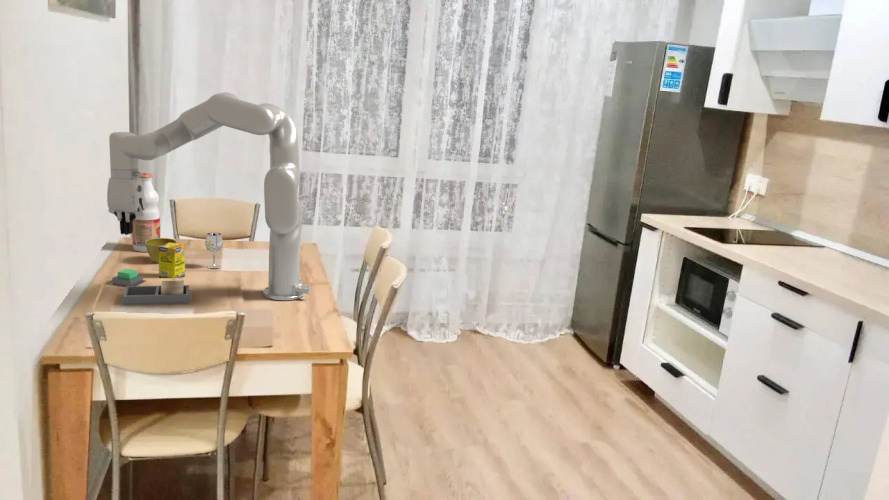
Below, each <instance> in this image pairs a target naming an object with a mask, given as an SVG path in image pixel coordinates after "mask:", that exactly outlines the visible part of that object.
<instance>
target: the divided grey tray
mask: <svg viewBox="0 0 889 500" xmlns="http://www.w3.org/2000/svg"><path fill="white" fill-rule="evenodd" d="M192 296H193V292H192V291H190V285H189V284H184V294H174V295H161V285H137V286H126V287H124V291H123V294H122V299H121V301H120V304H119V307H137V306H139V307H141V306H174V305H175V306H176V305H182V306H183V305H192V300H193V298H192Z"/></svg>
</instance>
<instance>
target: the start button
mask: <svg viewBox="0 0 889 500" xmlns="http://www.w3.org/2000/svg"><path fill="white" fill-rule="evenodd" d="M137 274H138V270H137V269H130V268H124V269H121V270H119V271H117V276H118V278H124V279H132V278H134V277H137V276H138V275H137Z"/></svg>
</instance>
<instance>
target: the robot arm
mask: <svg viewBox="0 0 889 500" xmlns="http://www.w3.org/2000/svg"><path fill="white" fill-rule="evenodd" d="M221 127H227V128H230V129H234V130H238V131H241V132H244V133H248V134H251V135H256V136H264V135H268V137H269V164H270V165H269V170H267V172H266V173H265V177H264V182H263V194H264V195H263V198H264V199H263V200H264V218H265V223H266V225H267V227H268V229H270V230H269V247H268V248H269V249H268V250H269V251H268V252H269V253H268V282H267V284H268V285H267V287H264V288H263V292H262V294H263V296H264V298H268V299H271V300H275V301H293V300H294V301H295V300H298V299H300V298H302V297H303V296H304V295H305V294H306V295H310V294H311V291H312V289H311V286H310V285H304V284H303V280H300V271H301V270H300V268H301V267H300V266H301V248H302V247H301V246H302V245H301V242H302V229H303V214H304V213H303V208H302V204H301V203H300V202H299V200H298V187H299V185H300V183H301V174H300V155H299V142H298V141H299V138H298V137H299V136H298V132H297V128H296V127H297V126H296V125H295V123H294V120H293V119H292V117H291V116H290V115H289V114H288V112H286V111H285V110H284V109H282V108H281V107H279V106H277V105H275V104H272V103H268V102H267V103H260V104H256V103H253V102H250V101H249V102H248V101H246V100H242V99H239V98H238V97H237V96H236V95H235V94H233V93H231V92H227V91H226V92H220V93H215V94H212V96H210V97H209V98H208V99H207V100H205V101H202V103H199V104H197V105H195V106H193V107H192V108H190V109H187V110H186V111H184V112H182V113H181V114H180V115H179V116H178V117H177V118H176V119H175V120H173V121H172V122H170V123H168V124H166V125H164V126H162V127H160V128H158V129H157V130H154V131H152V132H148V133H145V134H139V135H138V134H135V133H133V132H130V131H129V132H128V131H115V132H111V133H110V134H109V137H108V139H109V142H108V143H109V161H110V162H109V164H110V165H109V168H110V177H109V178H108V182H107V190H106V191H107V193H106V198H107V200H106V202H107V207H108V213H110V214H113V215H114V216H115V217H116V218H117V221H118V222H119V231H120V235H126V236H128V235H131V234H132V233H133V221H134V220H135V218H136V217H140V216H143V215H144V214H143V211H142V210H145V196H144V189H143V185H142V181H141V179H138V177H140V176H141V173H142V172H141V171H139V160H142V161H153V160H155V159H158V158H159V157H162V156H165V155H167V154H168V153H171V152H172V151H174V150H176V149H178V148H180V147H182V146H184V145H186V144H188V143H190V142H193V141H197V140H198V139H200V138H203V137H205V136H206V135H208V134H210V133H212V132H214V131H217V129H220V128H221ZM135 212H136V213H135Z"/></svg>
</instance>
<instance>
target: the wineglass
mask: <svg viewBox="0 0 889 500" xmlns="http://www.w3.org/2000/svg"><path fill="white" fill-rule="evenodd" d="M204 242H205V243H204V244H205V245H204V246H205V248H206V250H208V251H209V252H211V253H212V258H213V262H212V265H211V266H210V265H208V266H209V268H219V267H221V266H220V265H218V266H217V265H216V253H217V252H220V251H221V250H222V248H223V246H224V245H223V244H224V241H223V235H222V233H220V232H217V231H216V232H208V233H206V236H205V240H204ZM209 268H208V269H209ZM219 269H220V268H219Z"/></svg>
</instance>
